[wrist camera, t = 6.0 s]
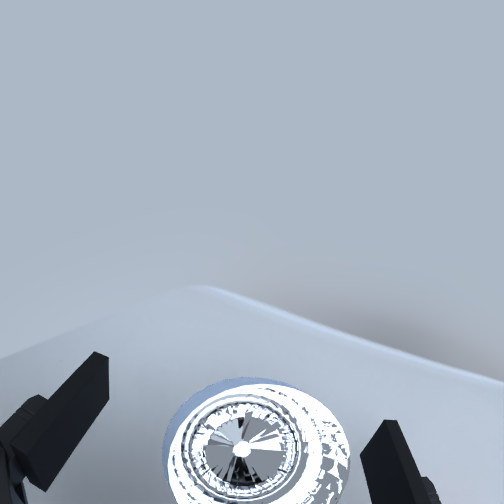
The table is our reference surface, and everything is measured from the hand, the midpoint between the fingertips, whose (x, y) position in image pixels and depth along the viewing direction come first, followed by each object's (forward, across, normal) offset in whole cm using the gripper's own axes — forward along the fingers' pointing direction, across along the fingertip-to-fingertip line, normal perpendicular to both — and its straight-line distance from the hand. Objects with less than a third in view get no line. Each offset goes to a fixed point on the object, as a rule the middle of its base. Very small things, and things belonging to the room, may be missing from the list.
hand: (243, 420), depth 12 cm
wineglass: (+3, 0, -5) cm, 6 cm away
